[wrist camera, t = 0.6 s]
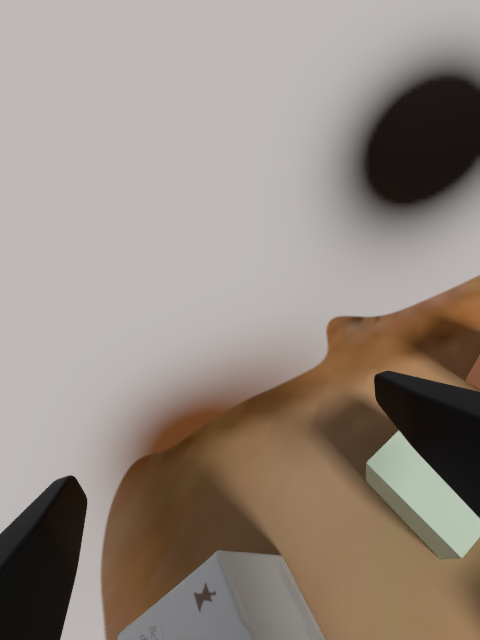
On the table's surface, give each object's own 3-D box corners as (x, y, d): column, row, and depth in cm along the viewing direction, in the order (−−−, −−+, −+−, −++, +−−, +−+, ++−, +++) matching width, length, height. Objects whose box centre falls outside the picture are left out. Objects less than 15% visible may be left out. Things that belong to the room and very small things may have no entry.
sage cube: (493, 497, 17) (528, 479, 13) (439, 559, 16) (461, 558, 12) (413, 433, 20) (423, 405, 16) (365, 481, 19) (366, 462, 16)
